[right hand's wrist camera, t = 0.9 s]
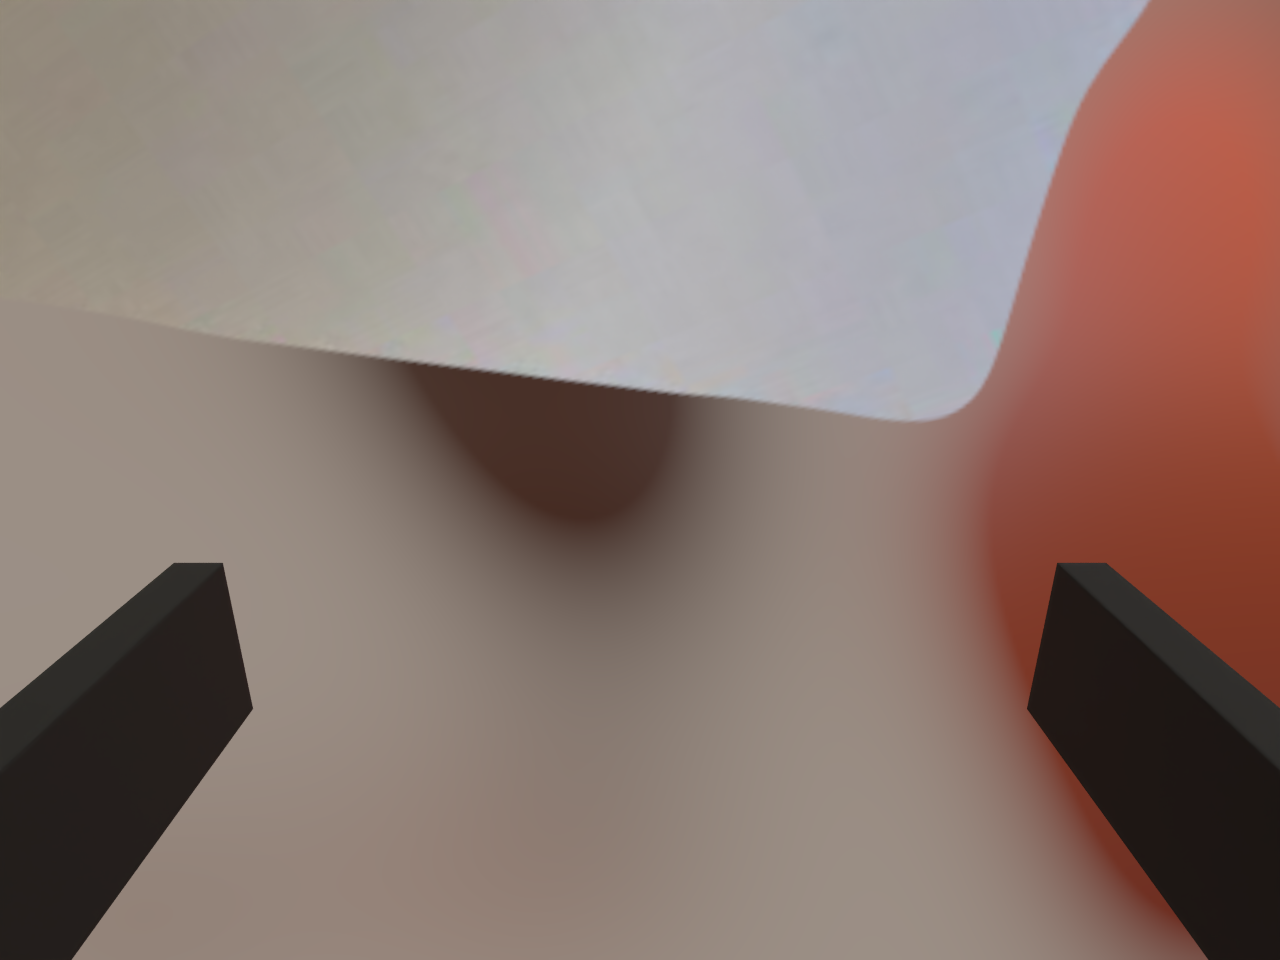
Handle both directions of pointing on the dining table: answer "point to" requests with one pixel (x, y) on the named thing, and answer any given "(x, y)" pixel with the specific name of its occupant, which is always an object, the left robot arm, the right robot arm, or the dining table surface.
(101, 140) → the dining table surface
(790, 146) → the dining table surface
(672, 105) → the dining table surface
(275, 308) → the dining table surface
